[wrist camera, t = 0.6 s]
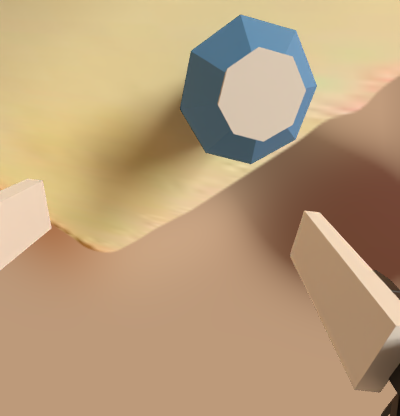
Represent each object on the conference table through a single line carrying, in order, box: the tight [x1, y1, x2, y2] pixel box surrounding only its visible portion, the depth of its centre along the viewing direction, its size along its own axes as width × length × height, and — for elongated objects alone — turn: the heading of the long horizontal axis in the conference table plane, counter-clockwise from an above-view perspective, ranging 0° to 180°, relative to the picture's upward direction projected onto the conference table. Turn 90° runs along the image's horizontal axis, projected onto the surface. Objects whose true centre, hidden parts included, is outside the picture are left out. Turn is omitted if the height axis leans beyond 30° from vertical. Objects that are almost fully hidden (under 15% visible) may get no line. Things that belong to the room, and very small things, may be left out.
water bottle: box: [180, 15, 317, 164], centre depth 23 cm, size 9×9×25 cm
